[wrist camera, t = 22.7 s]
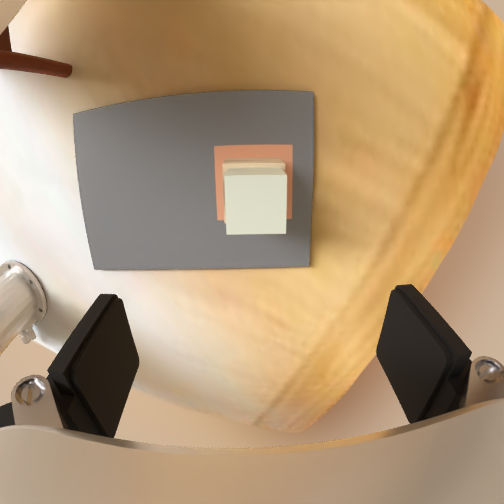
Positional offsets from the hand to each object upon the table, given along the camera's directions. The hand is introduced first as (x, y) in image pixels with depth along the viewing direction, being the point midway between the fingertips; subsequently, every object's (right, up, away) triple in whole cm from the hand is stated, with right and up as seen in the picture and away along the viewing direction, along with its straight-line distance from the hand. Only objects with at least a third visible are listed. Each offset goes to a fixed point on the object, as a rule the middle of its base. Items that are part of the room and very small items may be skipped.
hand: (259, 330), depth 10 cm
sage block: (0, +8, +19) cm, 21 cm away
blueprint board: (-8, +11, +26) cm, 29 cm away
